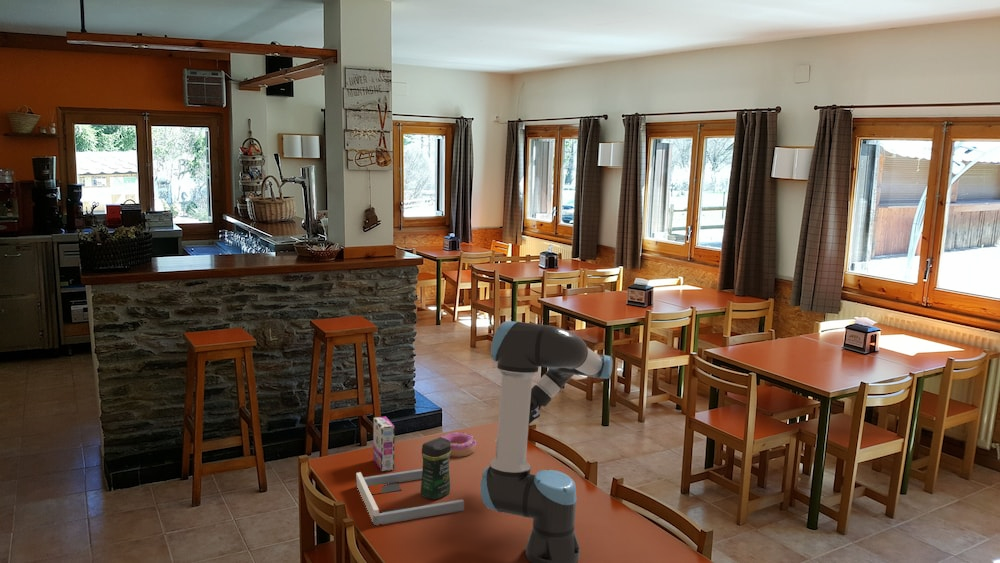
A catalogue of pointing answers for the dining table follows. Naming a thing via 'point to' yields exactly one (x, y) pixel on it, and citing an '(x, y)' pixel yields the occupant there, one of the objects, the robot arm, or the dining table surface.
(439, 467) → the coffee jar
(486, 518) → the dining table surface
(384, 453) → the candy bar box
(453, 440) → the donut
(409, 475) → the channel
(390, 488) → the trap pads
